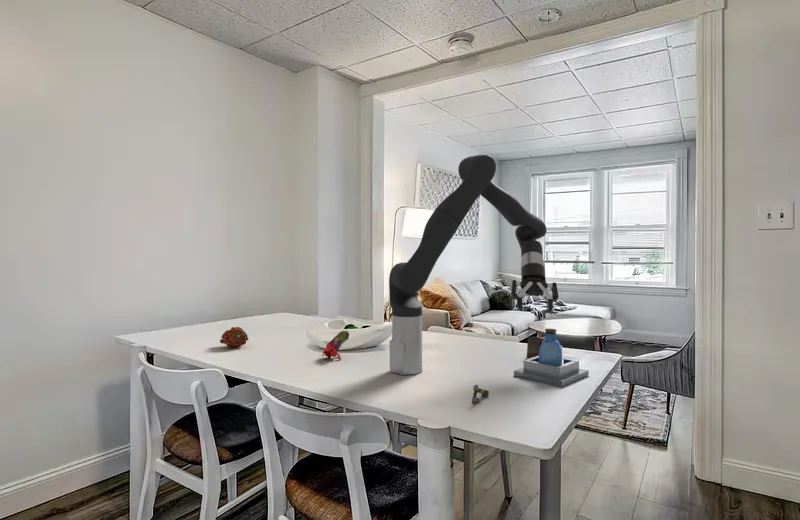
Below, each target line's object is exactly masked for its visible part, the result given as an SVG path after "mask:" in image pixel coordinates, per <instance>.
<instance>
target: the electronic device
mask: <svg viewBox="0 0 800 520" xmlns="http://www.w3.org/2000/svg"><path fill="white" fill-rule="evenodd" d="M544 339H546V337H545V336H531V337H528V338H527V345H526V347H527V348H526V358H527V359H530V358H533V357H536V356H539V349H540V346H541V344H542V342H543V340H544Z"/></svg>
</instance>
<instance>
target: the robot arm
mask: <svg viewBox="0 0 800 520" xmlns="http://www.w3.org/2000/svg"><path fill="white" fill-rule="evenodd" d="M496 164H497V162H496V161H495V159H494V158H493V156H491V155H489V154H483V153H482V154H476V155H470V156H467V157H465V158H463V159H462V160H461V161H460V163H459V165H458V168H457V169H458V172H457V173H458V175H459V178H460V179H461V180H462V182H461V184H460V185H459V186H458V187H457V188H456V189H455V190H454V191H452V192H451V193H450V194H449V195H448V196H446V197H445V199H443V200H442V201H441V202H440V203H439V204H438V205H437V206H436V208H435V209H434V210H433V213H432V214H431V215H430V217H429V219H428V220H427V222H426V223H425V226H424V228H423V231H422V238H421V240H420V243H419V245H418V247H417V249H416V250H415V251H414V253H413V254H412V256H411V257H410V258H409V259H408V261H407V262H399V263H396V264H394V266H393V267H392V268H391V269H390V271H389V276H388V277H389V278H388V291H389V293H388V295H389V305H390V309H391V339H390V340H389V372H391V373H395V374H397V375H398V374H399V375H401V376H406V375H415V374H416V375H417V374H421V372H423V307H422V305H421V303H420V302H419V299H418V292H420V291H421V290H422V289H423V287H425V285H426V284H427V282H428V279H429V277H430V275H431V273H432V272H433V269H434V267H435V265H436V263H437V261H438V260H439V257H441V255H442V253H443V252H444V250H445V249H446V247H447V245H448V244H449V243H450V241H451V240H452V238H453V237H454V235H455V234H456V232H457V230H458V229H459V228H460V226H461V224H462V223H463V221H464V219H465V218H466V216H467V214H468V213H469V212H470V210H471V208H472V207H473V205H474V204H475V202H476V200H477V199H478V198H479V197H480V196H481V197H483V199H484V200H486V201H487V202H489V204H491V206H492V207H493V208H494V209H496V210H497V211H498V212H499V213H500V215H501V216H503V218H504V219H505V220H506V221H507V222H508V224H509V225H511V226H513V227H516V229H515V232H514V233H515V234H514V235H515V237H516V240H517V242H518V244H519V247H520V254H521V256H520V258H521V260H520V271H521V273H520V276H521V279H520V280H521V281H517V280H516V279H512V282H511V289H510V290H511V291H510V299H511V300H515V301H516V308H517V310H519V312H522V311H523V305H524V304H523V299H524V298H525V297H526V296H527V295H528V296H530V297H531V296H533V297H541V298H542V300H545V302H546V309H547V314H551V312H553V309H554V305H553V303H557V302H558V299H559V292H558V291H559V289H558V286H557V283H556V282H554V281H553V282H552V283H548V282H547V281H546V267H545V260H544V255H543V254H544V251H543V245H542V243H541V242H540V241H538V239H539V240H540V239H541V238H543V237H545V236H546V234H547V226H546V224H545V222H544V221H543V220H542V219H541V218H539V217H538V216H536V215H535V214H533V213H532V212H530V211H528V210H526V208H525V207H524V206H523V204H521V203H520V202H519V201H518V199H517V198H515V196H513V195H512V194H510V193H509V192H507V191H506V190H504V189H503V188H501V187H500V186H498V185H496V184H495V183H494V182H493V181H492V180H493V178H494V177H495V174H496V172H497V165H496ZM519 287H520V288H521V291H519V293H517V289H518V288H519ZM547 289H549V290H547ZM549 291H550V292H551V294H550V293H549Z"/></svg>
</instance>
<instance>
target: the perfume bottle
mask: <svg viewBox="0 0 800 520" xmlns="http://www.w3.org/2000/svg"><path fill="white" fill-rule="evenodd" d="M544 331H545V332H544V337H546V339H544V340H543V342H542V344H541V346H540V349H539V363H544V364H549V365H554V366H560V365H563V346H562V345H561V343H560V341H559V340H558V339H557V338H558V334H557V329H556V328H545V329H544Z"/></svg>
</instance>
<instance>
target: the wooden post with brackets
mask: <svg viewBox="0 0 800 520" xmlns="http://www.w3.org/2000/svg"><path fill="white" fill-rule="evenodd" d="M472 390H473V393H472V394H473V395H472V398H471V401H472V402H471V404H472V405H473V404H474V405H476V403H480V402H481V398H479V397H477V395H478V394H481V395H480V396H481V397H483V396H484V398H489V396H490V390H489V389H488V390H487V389H484V388H480V387H479V385H478V384H475V385H473V386H472Z"/></svg>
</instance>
